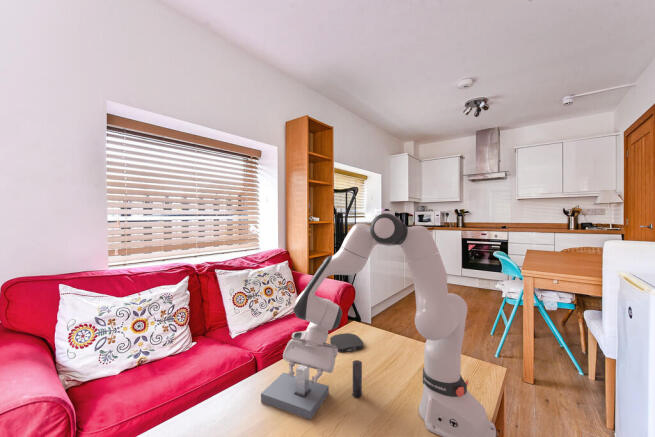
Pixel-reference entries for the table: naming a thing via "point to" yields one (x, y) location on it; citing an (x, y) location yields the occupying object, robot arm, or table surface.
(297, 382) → the square bit
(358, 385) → the round bit
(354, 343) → the media streaming box
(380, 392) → the table surface
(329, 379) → the table surface
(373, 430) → the table surface
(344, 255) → the robot arm
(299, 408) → the socket board
